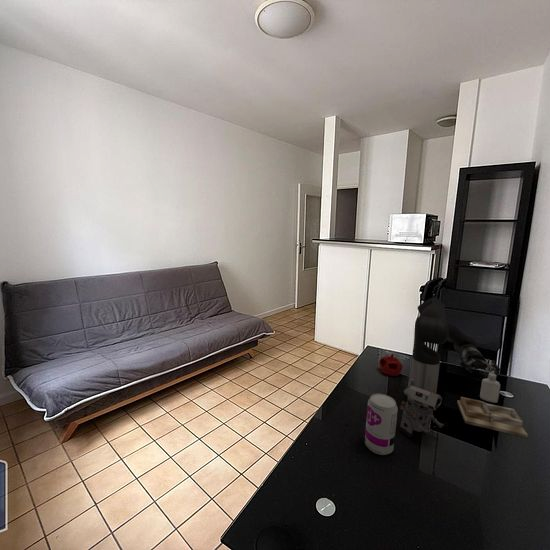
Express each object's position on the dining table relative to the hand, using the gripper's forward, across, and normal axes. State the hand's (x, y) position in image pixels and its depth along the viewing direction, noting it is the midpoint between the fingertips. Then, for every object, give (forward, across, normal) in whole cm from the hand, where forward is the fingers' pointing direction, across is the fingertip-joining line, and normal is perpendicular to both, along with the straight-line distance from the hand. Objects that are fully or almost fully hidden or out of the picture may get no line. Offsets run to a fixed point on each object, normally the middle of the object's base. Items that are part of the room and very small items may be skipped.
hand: (483, 373), depth 120 cm
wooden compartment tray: (+24, -3, +6) cm, 25 cm away
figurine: (+43, -27, +7) cm, 51 cm away
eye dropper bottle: (+10, 0, +7) cm, 12 cm away
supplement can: (+54, -39, +7) cm, 67 cm away
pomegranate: (+3, -36, +7) cm, 37 cm away
